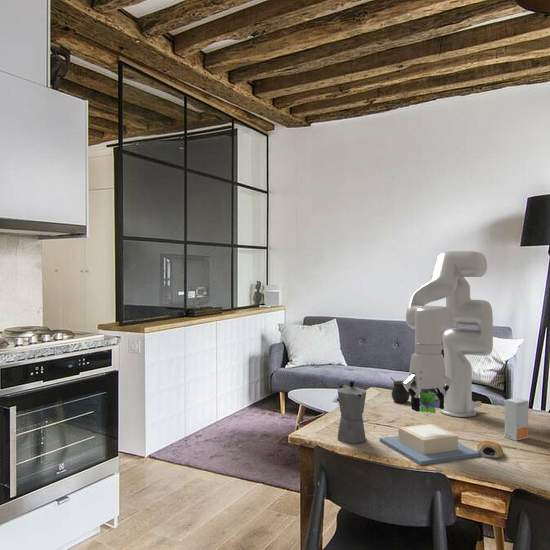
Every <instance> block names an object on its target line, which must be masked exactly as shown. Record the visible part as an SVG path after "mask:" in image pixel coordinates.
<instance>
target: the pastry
mask: <svg viewBox="0 0 550 550" xmlns="http://www.w3.org/2000/svg"><path fill="white" fill-rule="evenodd" d="M476 449H477V450H476V451H477V452H479V453H480V456H479V457H483V458H490V459H491V458H492V459H501V458H503V455H504V449H503V447H502V446H501V445H500V444H499V443H498V442H495V441H491V440H483V441H480V442H479V443H478V444H477V448H476Z"/></svg>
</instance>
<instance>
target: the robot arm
mask: <svg viewBox="0 0 550 550" xmlns="http://www.w3.org/2000/svg"><path fill="white" fill-rule="evenodd" d="M487 270H488V261H487V257H486V256H485V255H484V254H483V253H482V252H479V251H474V250H460V251H459V250H454V251H453V250H452V251H443V252H441V253H440V254H438V255H437V257H436V258H435V261H434V266H433V269H432V273H431V276H430V281H428V282H426V283H425V284H423V285H421V286H420V288H418V289H417V290H415V292H414V293H412V295H411V297H410V299H409V303H408V304H407V305H408V306H407V309H406V313H405V321H406V325H407V327H409V328H410V329H413V330H414V353H412V354H411V358H410V362H409V363H410V364H409V370H408V378H407V379H406V380H404V381H405V382H404V383H403V386H404V387H405V389H406V391H407V392H408V393H409V395H410V396H409V397H410V407H411V410H413V411H415V412H419V413H420V411H421V409H420V392H421V393H422V390H433V389H434V390H435V391H436V393H435V394H436V395H437V397H438V398H439V399H440V406H439V411H440V412H441V413H442V414H443V415H447V416H450V417H456V418H457V417H459V418H472V417H474V416H476V415H477V411H476V410H475V408H476V407H477V408H478V407H479V408H480V407H482V405H483V404H482V401H480V400H479V401H474V400H472V399H473V398H472V397H473V396H472V394H473V393H472V391H473V390H472V389H473V388H472V386H473V385H472V384H473V383H472V380H473V379H472V378H473V377H472V373H473V372H472V371H473V369H472V365H471V362H470V361H469V359H468V357H466V356H467V355H469V356H482V357H486V356H489V355H491V354H492V351H493V347H494V332H493V331H494V327H493V326H494V321H493V320H494V319H493V317H494V315H493V307H492V305H491V303H490V302H489V301H487V300H483V299H471V285H470V283H469V282H468V280H467V279H466V278H482V277H483V276H485V274H486V272H487ZM443 299H445V306H439V305H438V306H437V305H435V306H434V305H428V304H430V303H432V302H437V301H439V300H443ZM455 325H461V326H473V327H474V326H475V327H477V329H475V328H463V327H460V328H459V327H453V326H455ZM442 332H443V333H442ZM442 350H443V353H442ZM465 355H466V356H465Z"/></svg>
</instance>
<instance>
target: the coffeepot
mask: <svg viewBox="0 0 550 550" xmlns="http://www.w3.org/2000/svg"><path fill="white" fill-rule="evenodd" d="M348 383H349V386H348V385H345V384H344V383H341V384H340V385H339V387H338V388H337V396H338V404H339V411H340V419H339V424H338V425H339V426H338V431H337V440H338V441H340V442H342V443H345V444H346V443H347V444H361V443H364V442H366V441H367V440H366V439H367V438H366V431H365V425H364V420H363V414H364V410H365V406H366V397H367V391H366V389H364V388H359V387H355V386H354V385H355V381H354V380H350V381H348Z"/></svg>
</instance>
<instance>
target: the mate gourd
mask: <svg viewBox="0 0 550 550" xmlns="http://www.w3.org/2000/svg"><path fill="white" fill-rule="evenodd" d="M390 379H391V380H392V381H393V386H392V387H393V388H392V390H391V397H392V400H393V401H394V402H395V403H399V404H400V403H401V404H405V403H407V402H408V401H409V399H410V397H411V396H410V395H409V393H408V392H407V391H406V389H405V387H404V386H403V383H404V382H405V381H406V380H395V379H394V378H393V377H390Z"/></svg>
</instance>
